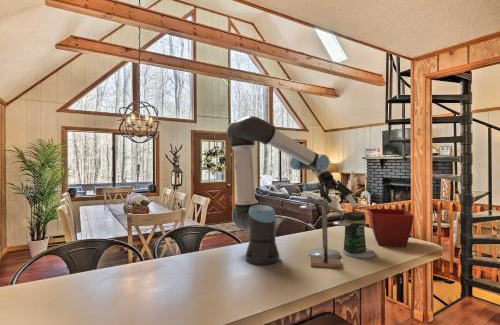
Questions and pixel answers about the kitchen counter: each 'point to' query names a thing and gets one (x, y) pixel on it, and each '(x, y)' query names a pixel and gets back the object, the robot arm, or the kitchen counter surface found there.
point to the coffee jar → (355, 232)
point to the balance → (325, 235)
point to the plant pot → (391, 226)
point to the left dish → (319, 253)
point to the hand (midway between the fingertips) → (345, 206)
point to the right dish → (361, 254)
